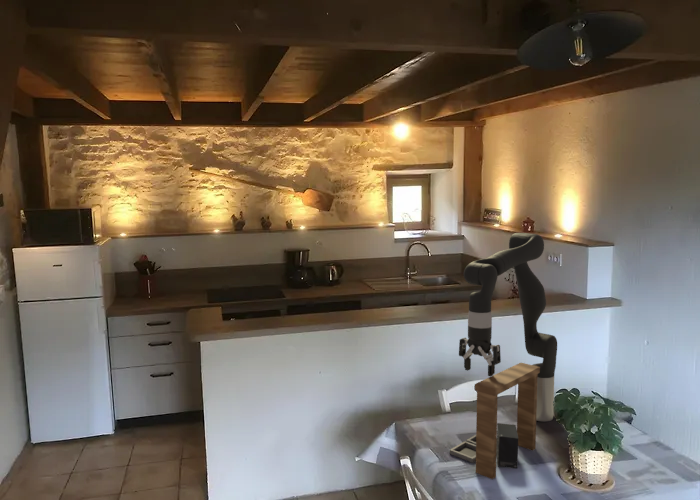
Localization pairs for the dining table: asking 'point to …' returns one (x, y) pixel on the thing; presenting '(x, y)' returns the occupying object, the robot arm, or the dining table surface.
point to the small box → (507, 445)
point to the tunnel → (488, 413)
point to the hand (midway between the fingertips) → (479, 372)
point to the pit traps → (466, 450)
